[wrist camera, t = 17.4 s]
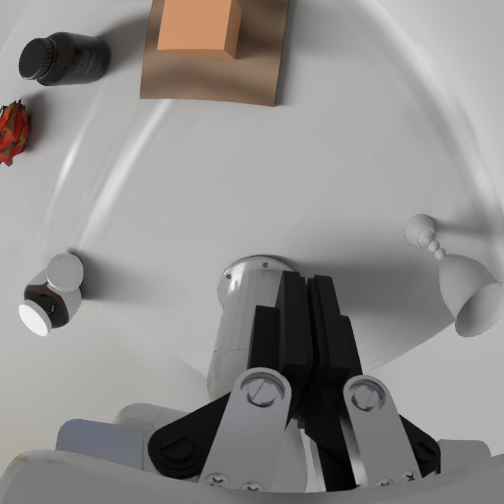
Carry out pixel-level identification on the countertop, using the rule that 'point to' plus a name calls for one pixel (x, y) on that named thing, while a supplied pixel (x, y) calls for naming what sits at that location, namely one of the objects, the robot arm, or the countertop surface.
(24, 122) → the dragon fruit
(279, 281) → the robot arm
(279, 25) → the walnut board
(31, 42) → the supplement bottle
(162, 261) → the countertop surface
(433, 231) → the chalice
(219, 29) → the peach colored cube
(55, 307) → the spread jar
